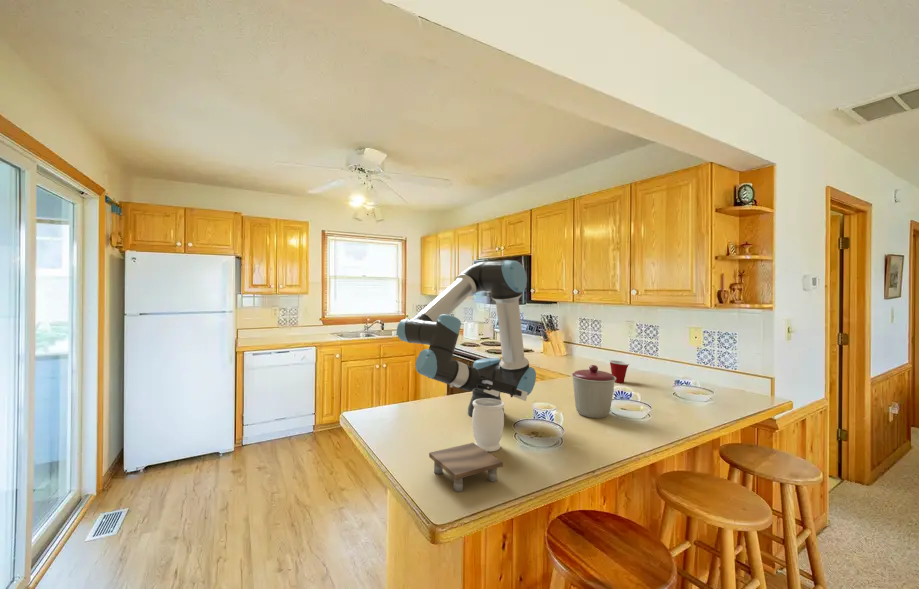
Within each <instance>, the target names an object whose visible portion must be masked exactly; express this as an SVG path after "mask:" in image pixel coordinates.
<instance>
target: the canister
mask: <svg viewBox="0 0 919 589" xmlns="http://www.w3.org/2000/svg"><path fill="white" fill-rule="evenodd" d="M588 367H589V369H579V370H576V371H574V372H572V373H571V374H570V375H571V377H572V382H573V383H572V384H573V392H574V393H573V394H574V395H573V396H574V403H575V409H576V412H577V413H578V414H579V415H582V416H584V417H586V418H591V419H592V418H593V419H603V418H606V417H607V416H608V415H609V414H610V412H611V407H612V402H613V395H614V388H615V382H614V381H615V380H616V377H615V376H613V375H612V373H610V372H607V371H603V370H599V367H598V366H597V365H596V364H591V365H590V366H588Z"/></svg>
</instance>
